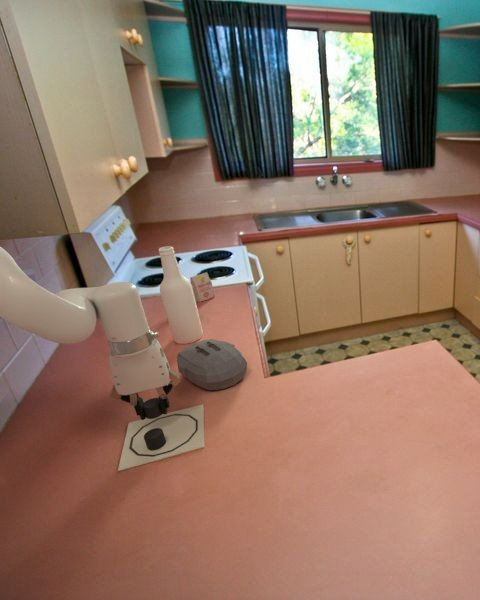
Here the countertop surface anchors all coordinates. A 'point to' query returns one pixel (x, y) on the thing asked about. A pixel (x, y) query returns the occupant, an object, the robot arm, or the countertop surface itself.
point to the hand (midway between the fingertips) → (154, 412)
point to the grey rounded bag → (212, 364)
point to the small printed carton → (202, 287)
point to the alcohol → (179, 300)
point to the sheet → (178, 433)
